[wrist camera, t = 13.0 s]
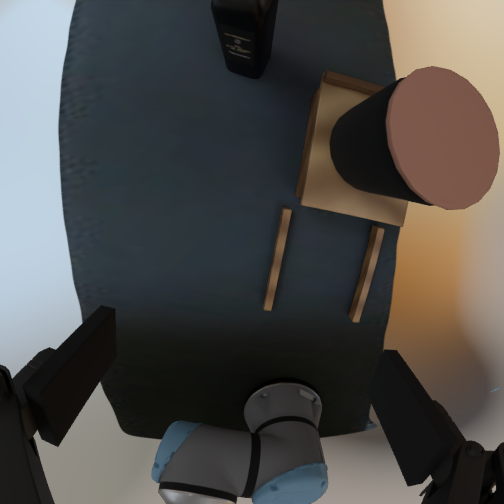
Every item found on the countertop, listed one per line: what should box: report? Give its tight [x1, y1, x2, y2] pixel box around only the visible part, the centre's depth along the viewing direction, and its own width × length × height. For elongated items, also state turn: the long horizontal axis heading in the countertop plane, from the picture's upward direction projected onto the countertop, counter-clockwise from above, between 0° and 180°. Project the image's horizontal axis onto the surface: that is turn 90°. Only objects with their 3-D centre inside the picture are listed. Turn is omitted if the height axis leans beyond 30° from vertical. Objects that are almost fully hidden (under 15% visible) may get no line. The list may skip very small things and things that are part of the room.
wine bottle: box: [211, 0, 278, 79], centre depth 26 cm, size 6×6×30 cm
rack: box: [263, 70, 408, 322], centre depth 41 cm, size 34×16×12 cm, turn 170°
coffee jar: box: [329, 66, 500, 210], centre depth 26 cm, size 11×11×18 cm
